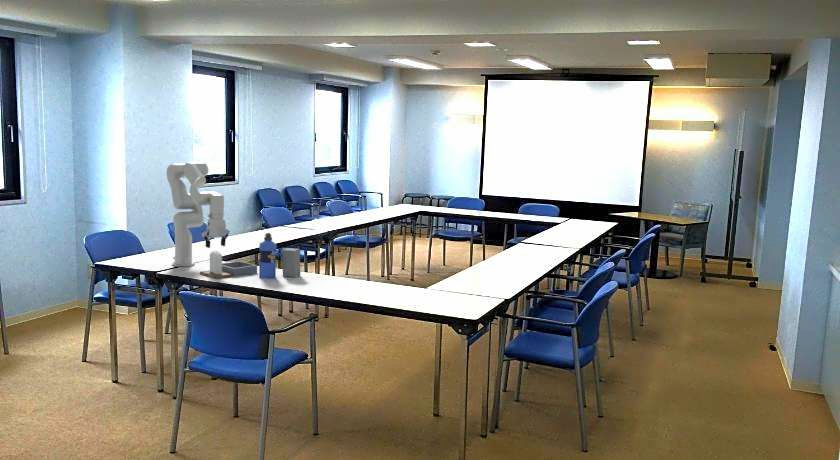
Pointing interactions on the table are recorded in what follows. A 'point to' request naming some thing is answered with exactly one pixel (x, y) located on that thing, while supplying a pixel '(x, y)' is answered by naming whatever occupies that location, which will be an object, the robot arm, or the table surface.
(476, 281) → the table surface
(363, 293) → the table surface
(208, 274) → the board
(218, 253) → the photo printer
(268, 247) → the water bottle
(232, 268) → the bin
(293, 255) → the skincare box
